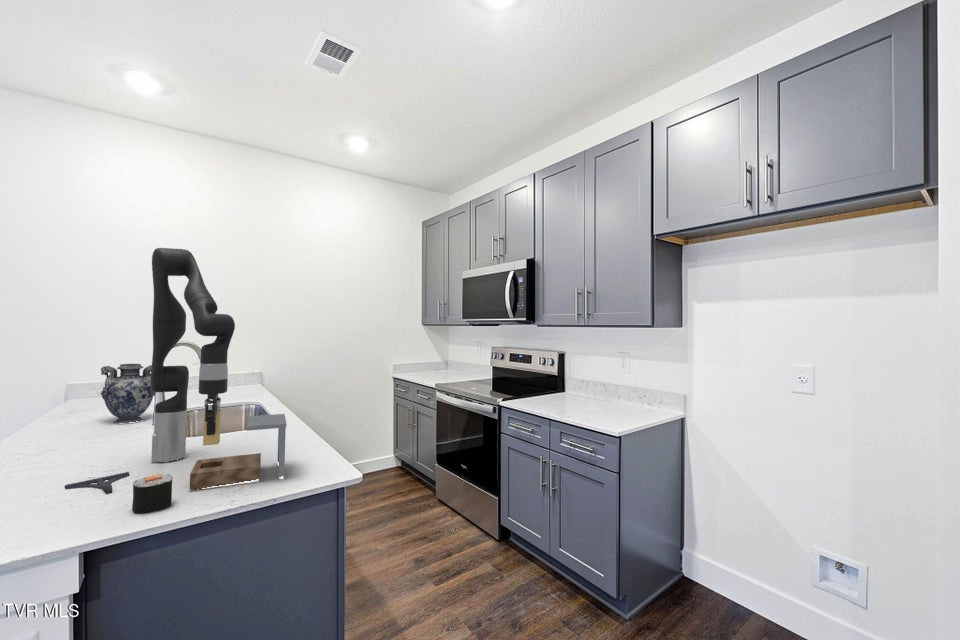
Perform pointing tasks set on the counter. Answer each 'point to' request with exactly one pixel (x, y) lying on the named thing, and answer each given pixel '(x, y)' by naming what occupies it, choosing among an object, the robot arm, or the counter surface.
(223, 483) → the socket block
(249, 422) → the panel
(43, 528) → the counter surface
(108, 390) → the decorative vase
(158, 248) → the robot arm
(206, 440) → the peg
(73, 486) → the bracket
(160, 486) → the sushi
